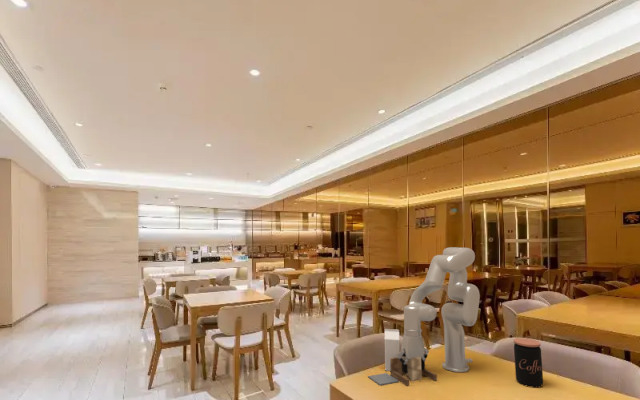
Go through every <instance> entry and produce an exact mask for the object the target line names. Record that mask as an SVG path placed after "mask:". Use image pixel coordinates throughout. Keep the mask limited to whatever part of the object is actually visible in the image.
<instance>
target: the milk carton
mask: <svg viewBox="0 0 640 400" xmlns="http://www.w3.org/2000/svg"><path fill="white" fill-rule="evenodd" d="M400 345H401V344H400V329H390V328H384V368H385V369H384V370H385V371H387V372H388V371H389V372H391V367H390V358H395V357H398V356H397V354H398V353H399V352H400V351H401V349H400Z"/></svg>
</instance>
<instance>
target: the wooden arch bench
mask: <svg viewBox="0 0 640 400" xmlns="http://www.w3.org/2000/svg"><path fill="white" fill-rule="evenodd" d="M401 357H402V356H401ZM402 358H403V357H402ZM405 359H406V358H405ZM404 361H405V360H404ZM390 367H391V371H390V376H392V377H393V378H395V379H397V380H398V381H399V382H400V383H401V384H403V385H404V386H406V387H409V386H410V379H408V378H406V373H404V372H403V371H402V363H401V361H400V360H399V358H398V357H395V358H390ZM421 373H422V375H423V376H425V377H427V378H428V379H430V380H432V381H434V382H436V381H437V380H438V375H437V374H435V373H434V372H432V371H430V370H429V369H427V368H425V370H422V369H421ZM404 375H405V376H404Z"/></svg>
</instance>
